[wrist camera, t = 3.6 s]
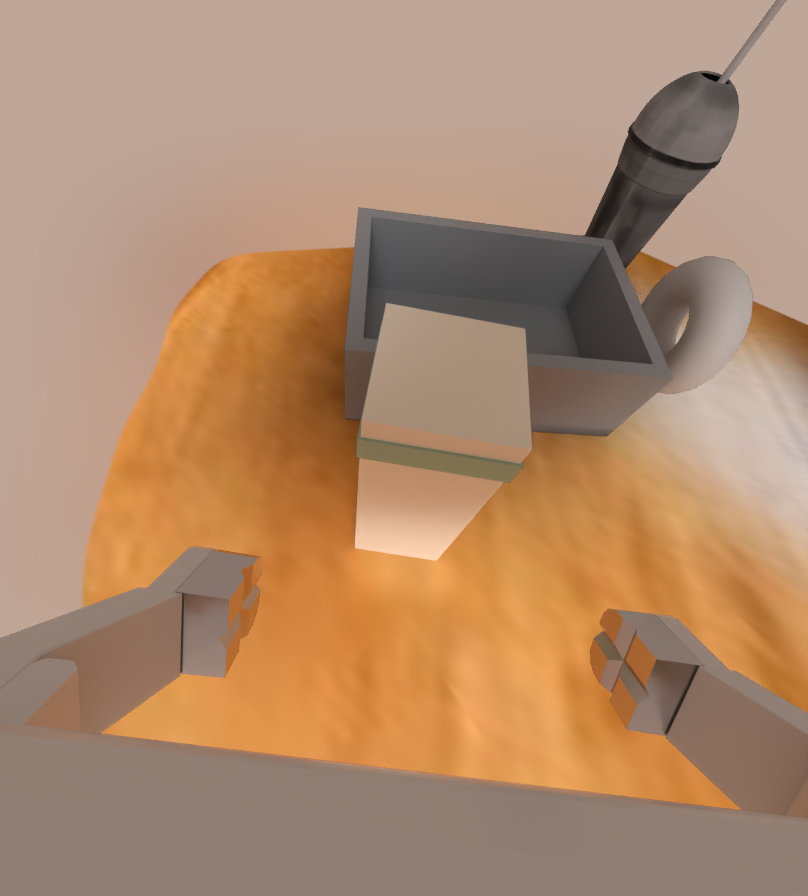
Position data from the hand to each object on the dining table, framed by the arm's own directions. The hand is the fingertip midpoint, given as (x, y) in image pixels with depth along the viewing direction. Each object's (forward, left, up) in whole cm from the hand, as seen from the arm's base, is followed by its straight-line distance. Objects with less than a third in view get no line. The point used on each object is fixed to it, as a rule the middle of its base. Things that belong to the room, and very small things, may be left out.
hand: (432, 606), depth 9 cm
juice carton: (-1, -7, -14) cm, 15 cm away
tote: (-7, -21, -14) cm, 26 cm away
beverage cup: (-21, -34, -14) cm, 42 cm away
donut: (-22, -21, -14) cm, 33 cm away
